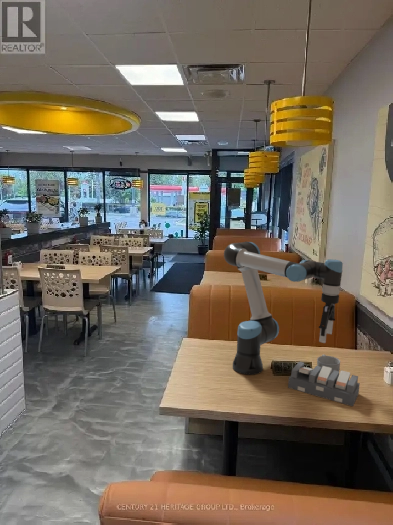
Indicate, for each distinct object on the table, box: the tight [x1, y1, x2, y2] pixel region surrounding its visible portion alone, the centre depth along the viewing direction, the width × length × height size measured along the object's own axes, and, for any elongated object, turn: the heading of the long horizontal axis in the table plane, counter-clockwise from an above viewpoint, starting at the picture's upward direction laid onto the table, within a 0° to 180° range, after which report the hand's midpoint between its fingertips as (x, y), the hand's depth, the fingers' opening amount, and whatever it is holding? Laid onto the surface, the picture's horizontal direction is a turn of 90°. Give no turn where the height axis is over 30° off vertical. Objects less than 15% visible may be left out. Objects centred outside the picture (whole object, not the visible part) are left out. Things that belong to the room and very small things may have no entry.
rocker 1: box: [299, 366, 314, 374], centre depth 175 cm, size 4×10×2 cm, turn 148°
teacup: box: [316, 354, 341, 375], centre depth 190 cm, size 14×11×8 cm
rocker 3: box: [335, 370, 351, 390], centre depth 167 cm, size 4×10×2 cm, turn 148°
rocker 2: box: [317, 366, 332, 385], centre depth 171 cm, size 4×10×2 cm, turn 148°
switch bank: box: [287, 361, 360, 407], centre depth 172 cm, size 28×13×8 cm, turn 58°
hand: (325, 337), depth 178 cm, fingers open, 13 cm apart
